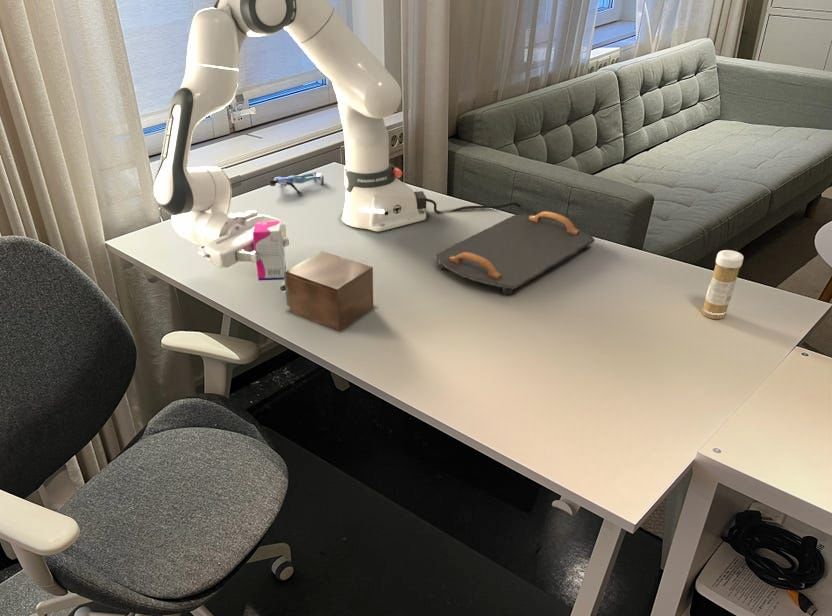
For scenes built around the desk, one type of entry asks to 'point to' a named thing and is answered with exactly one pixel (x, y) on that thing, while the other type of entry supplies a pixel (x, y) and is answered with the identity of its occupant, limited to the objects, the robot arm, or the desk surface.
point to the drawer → (285, 288)
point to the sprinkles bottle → (722, 283)
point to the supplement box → (269, 250)
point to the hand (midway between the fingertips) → (272, 250)
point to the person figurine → (296, 180)
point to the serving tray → (515, 250)
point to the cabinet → (330, 290)
